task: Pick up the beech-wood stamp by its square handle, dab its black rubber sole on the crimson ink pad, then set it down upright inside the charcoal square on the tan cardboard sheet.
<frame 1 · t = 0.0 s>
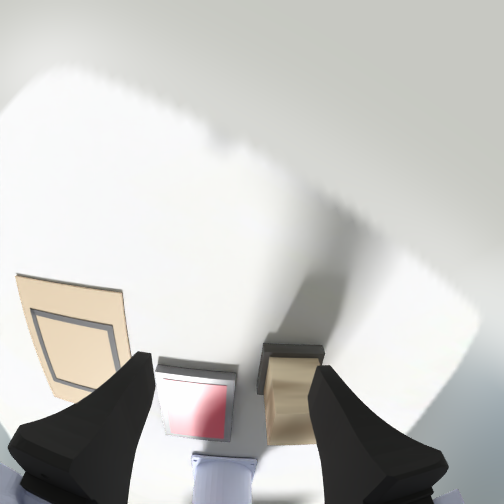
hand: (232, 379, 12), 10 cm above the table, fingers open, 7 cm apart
ink pad: (197, 405, 26), on the table
stamp: (288, 366, 24), on the table
cardboard sheet: (78, 356, 24), on the table
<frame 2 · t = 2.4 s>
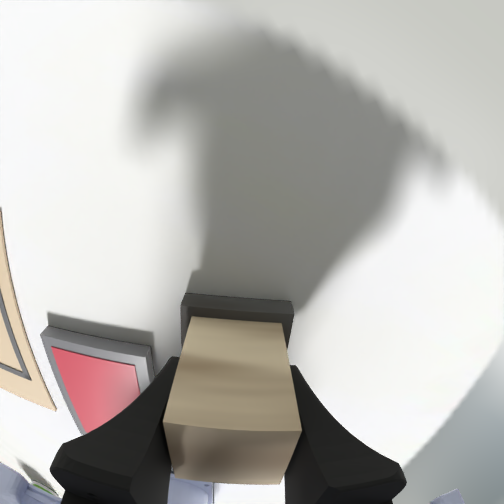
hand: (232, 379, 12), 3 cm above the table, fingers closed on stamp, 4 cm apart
ink pad: (109, 395, 16), on the table
supplement bottle: (45, 488, 27), on the table
stamp: (234, 340, 15), on the table, touching gripper
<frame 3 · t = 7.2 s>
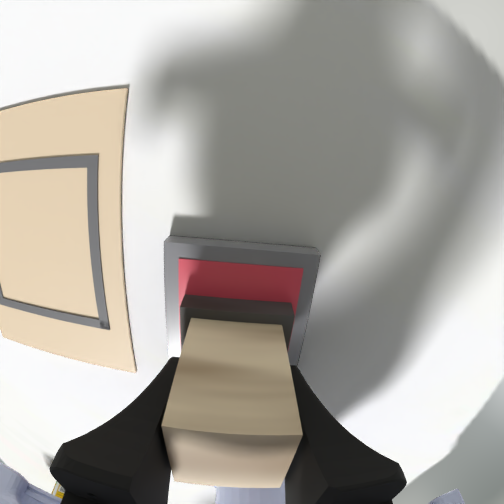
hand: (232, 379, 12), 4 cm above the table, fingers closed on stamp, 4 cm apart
ink pad: (235, 330, 16), on the table
supplement bottle: (73, 486, 26), on the table
stamp: (234, 341, 15), point 1 cm above the table, touching gripper, ink pad
cardboard sheet: (35, 242, 14), on the table
when the fingers open (4 cm above the table, at t = 12.1 s): stamp drops 1 cm, resting on cardboard sheet.
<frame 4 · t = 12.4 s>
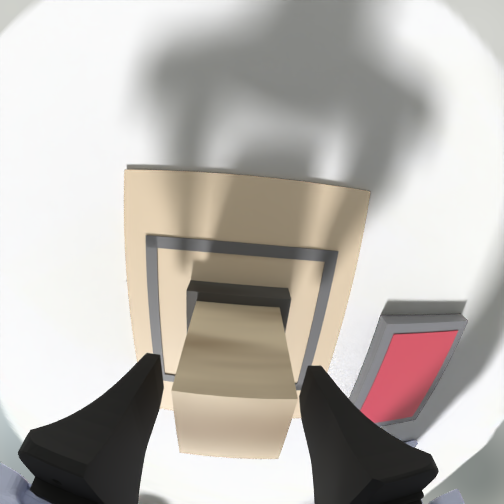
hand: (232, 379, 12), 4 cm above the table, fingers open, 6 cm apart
ink pad: (400, 373, 18), on the table
stamp: (235, 325, 16), resting on cardboard sheet
cardboard sheet: (235, 324, 16), on the table
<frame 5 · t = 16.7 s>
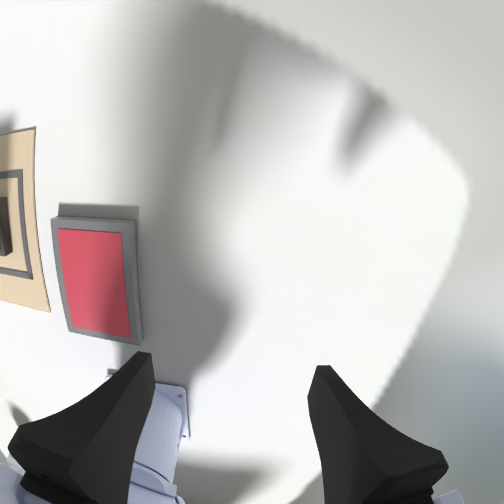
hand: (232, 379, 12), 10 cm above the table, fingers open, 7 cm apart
ink pad: (98, 279, 21), on the table
supplement bottle: (34, 440, 31), on the table
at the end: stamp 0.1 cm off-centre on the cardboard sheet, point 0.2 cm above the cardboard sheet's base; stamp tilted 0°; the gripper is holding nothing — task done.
